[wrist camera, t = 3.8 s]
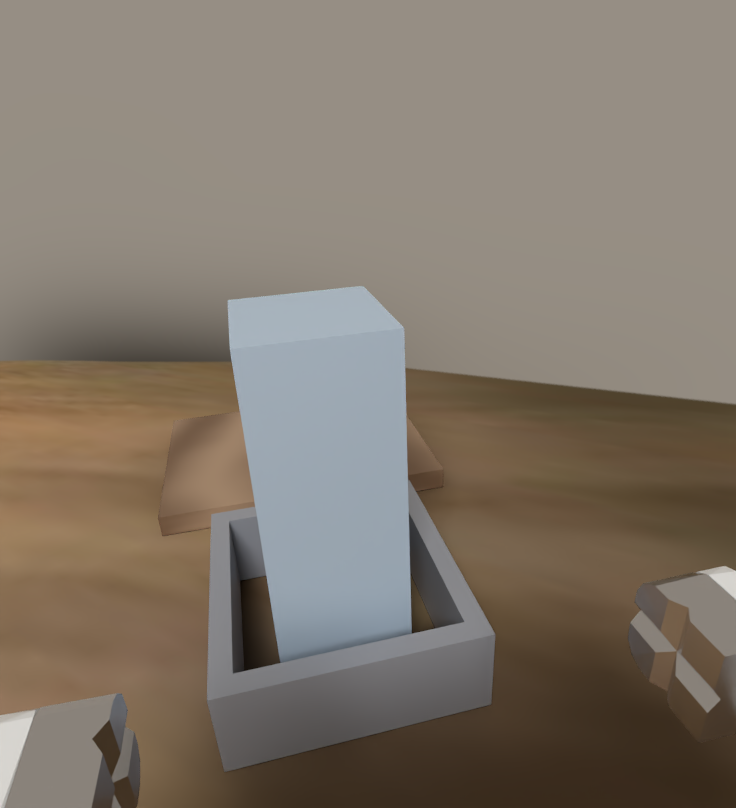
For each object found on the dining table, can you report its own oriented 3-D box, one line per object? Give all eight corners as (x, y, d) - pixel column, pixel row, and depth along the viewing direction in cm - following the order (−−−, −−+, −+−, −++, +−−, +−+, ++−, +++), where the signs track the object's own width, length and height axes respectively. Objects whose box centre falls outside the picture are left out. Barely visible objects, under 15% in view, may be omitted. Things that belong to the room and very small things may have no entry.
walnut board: (390, 404, 45) (389, 390, 44) (443, 486, 34) (443, 469, 34) (177, 435, 42) (173, 420, 41) (162, 535, 31) (157, 517, 31)
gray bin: (410, 536, 30) (409, 479, 29) (491, 704, 21) (495, 634, 20) (223, 572, 28) (211, 514, 27) (224, 772, 19) (206, 700, 18)
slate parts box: (377, 572, 28) (361, 284, 22) (412, 668, 23) (403, 327, 17) (273, 593, 27) (227, 298, 21) (286, 698, 22) (229, 349, 16)
